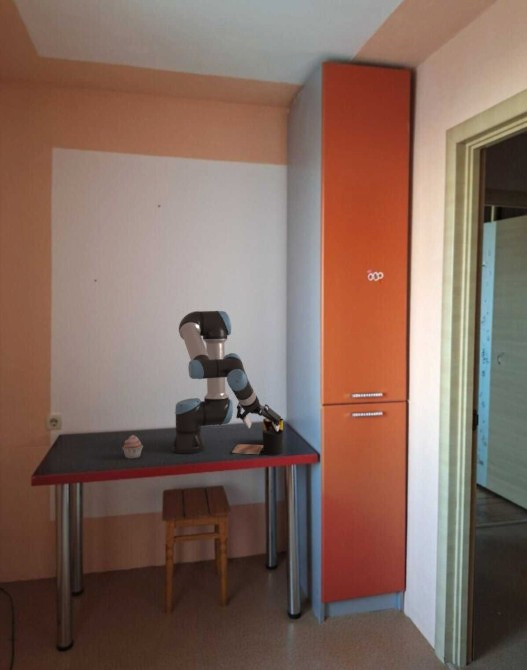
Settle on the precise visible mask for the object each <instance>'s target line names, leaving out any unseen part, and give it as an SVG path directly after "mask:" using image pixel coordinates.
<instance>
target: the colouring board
mask: <svg viewBox="0 0 527 670" xmlns="http://www.w3.org/2000/svg"><path fill="white" fill-rule="evenodd" d="M262 449H263V444H246V443H245V444H241V443H240V444H239V443H238V444H237V445H236V446H235V447H234V448H233V450H232V451H231V454H232V453H244V454H258V455H257V456H260V455H261V453H262V452H263V450H262ZM261 451H262V452H261ZM259 454H260V455H259Z"/></svg>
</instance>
